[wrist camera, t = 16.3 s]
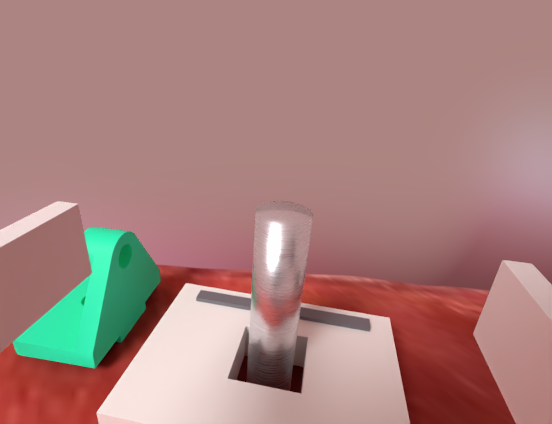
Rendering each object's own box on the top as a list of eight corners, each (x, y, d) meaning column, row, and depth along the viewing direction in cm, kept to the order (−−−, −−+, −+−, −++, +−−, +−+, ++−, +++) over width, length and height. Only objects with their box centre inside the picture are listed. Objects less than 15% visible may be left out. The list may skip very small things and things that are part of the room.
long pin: (297, 399, 27) (323, 221, 21) (255, 414, 26) (269, 228, 19) (278, 364, 30) (296, 198, 24) (240, 376, 29) (247, 204, 22)
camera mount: (98, 279, 40) (84, 197, 35) (161, 289, 39) (154, 206, 35) (12, 362, 29) (-24, 259, 24) (97, 377, 28) (76, 274, 24)
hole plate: (381, 345, 33) (390, 314, 32) (407, 519, 21) (424, 482, 19) (187, 310, 36) (185, 279, 34) (103, 446, 23) (95, 408, 21)
